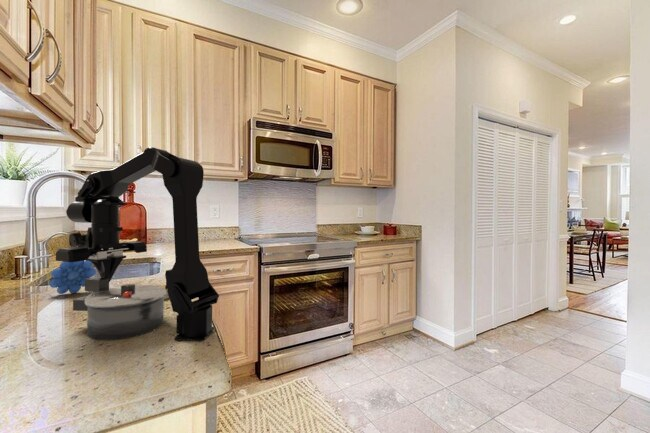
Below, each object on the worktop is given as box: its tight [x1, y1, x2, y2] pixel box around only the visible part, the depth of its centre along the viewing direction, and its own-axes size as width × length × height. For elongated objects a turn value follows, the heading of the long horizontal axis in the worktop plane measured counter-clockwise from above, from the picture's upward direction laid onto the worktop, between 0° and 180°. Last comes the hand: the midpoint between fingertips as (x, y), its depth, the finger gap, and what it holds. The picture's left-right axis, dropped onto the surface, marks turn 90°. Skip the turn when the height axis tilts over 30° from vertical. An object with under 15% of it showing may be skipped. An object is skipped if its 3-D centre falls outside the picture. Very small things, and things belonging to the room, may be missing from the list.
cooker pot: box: [72, 295, 165, 341], centre depth 70 cm, size 20×15×7 cm
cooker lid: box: [84, 276, 166, 308], centre depth 71 cm, size 21×16×4 cm
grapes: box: [49, 260, 97, 295], centre depth 97 cm, size 12×7×12 cm, turn 129°
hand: (106, 283), depth 75 cm, fingers closed
